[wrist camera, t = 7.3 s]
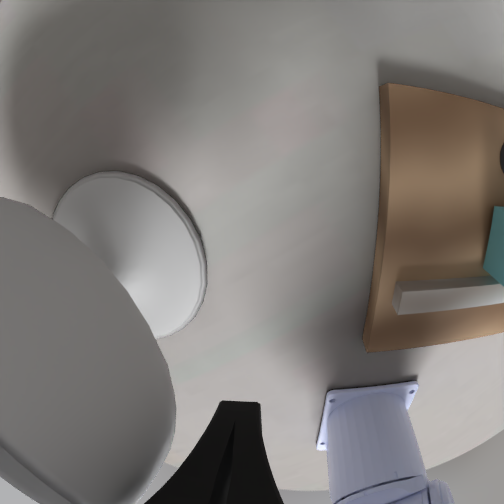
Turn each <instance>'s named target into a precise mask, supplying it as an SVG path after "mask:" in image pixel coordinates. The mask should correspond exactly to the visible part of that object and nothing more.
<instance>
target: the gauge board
mask: <svg viewBox="0 0 504 504" xmlns="http://www.w3.org/2000/svg"><path fill="white" fill-rule="evenodd" d="M379 95H380V119H381V174H380V198H379V214H378V228H377V239H376V249H375V258H374V267H373V275H372V282H371V289H370V296H369V303H368V309H367V315H366V321H365V326H364V332H363V337H362V340H363V343H364V346H365V349H366V352H367V353H369V352H380V351H390V350H400V349H408V348H416V347H424V346H431V345H438V344H444V343H450V342H456V341H462V340H468V339H473V338H478V337H483V336H488V335H493V334H497V333H502V332H504V287H503V286H502V285H501V284H500V283H499V282H498V281H497V280H496V279H495V278H493V277H492V276H491V275H490V274H489V273H488V272H487V271H485V270H484V269H483V264H484V260H485V256H486V251H487V246H488V241H489V236H490V231H491V225H492V219H493V212H494V206H499V207H504V109H503V108H500V107H497V106H494V105H491V104H487V103H484V102H481V101H477V100H473V99H470V98H466V97H462V96H458V95H454V94H449V93H445V92H440V91H435V90H430V89H425V88H420V87H414V86H408V85H401V84H394V83H386V84H384V85H381V86H379Z"/></svg>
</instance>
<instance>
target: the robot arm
mask: <svg viewBox="0 0 504 504" xmlns="http://www.w3.org/2000/svg"><path fill="white" fill-rule="evenodd" d="M418 387H419V385H418V382H417V381H411V382H405V383H398V384H390V385H383V386H374V387H364V388H353V389H341V390H331V391H329V392H328V393H327V396H326V401H325V406H324V412H323V417H322V422H321V427H320V431H319V436H318V441H317V445H316V449H317V450H327V462H328V476H329V493H330V498H331V500H332V502H333V504H455V503H454V500H453V497H452V494H451V492H450V489H449V486H448V484H447V483H446V482H444V481H440V480H439V479H435V480H433V481H431V482H430V481H429V480H428V478H427V475H426V471H425V467H424V463H423V460H422V456H421V453H420V449H419V446H418V443H417V439H416V436H415V433H414V430H413V427H412V424H411V421H410V417H409V414H408V409H409V406H410V404H411V402H412V400H413V398H414V396H415V393H416V391H417V389H418ZM144 504H284V503H283V501H282V498H281V496H280V494H279V491H278V489H277V486H276V483H275V481H274V478H273V475H272V472H271V469H270V465H269V462H268V459H267V455H266V451H265V447H264V442H263V437H262V424H261V407H260V404H259V403H258V402H240V401H221V402H220V403H219V405H218V408H217V410H216V412H215V414H214V416H213V418H212V420H211V421H210V423H209V425H208V427H207V428H206V430H205V432H204V434H203V435H202V437H201V438H200V440H199V441H198V443H197V444H196V446H195V447H194V449H193V450H192V452H191V453H190V454H189V456H188V457H187V458H186V460H185V461H184V462H183V464H182V465H181V466H180V468H179V469H178V470H177V471H176V472H175V474H174V475H173V476H172V477H171V478H170V479H169V480H168V481H167V483H165V485H164V486H163V487H162V488H161V489H160V490H159V491H157V492H156V493H155V494H154V495H153V496H152V497H151V498H150V499H149V500H148V501H147V502H145V503H144Z"/></svg>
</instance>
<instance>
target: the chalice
mask: <svg viewBox="0 0 504 504" xmlns="http://www.w3.org/2000/svg"><path fill="white" fill-rule="evenodd" d="M206 287H207V261H206V258H205V254H204V250H203V246H202V242H201V239H200V237H199V235H198V233H197V232H196V230H195V228H194V226H193V224H192V221H191V220H190V218H189V217H188V216H187V215H186V213H185V212H184V211H183V209H182V208H181V207H180V206H179V204H178V203H177V202H176V201H175V200H174V199H173V198H172V197H171V196H169V195H168V194H167V193H166V192H165V191H163V190H162V189H161V188H160V187H159V186H157V185H155V184H153V183H151V182H150V181H148V180H146V179H144V178H142V177H140V176H138V175H133V174H129V173H125V172H120V171H106V172H97V173H95V174H92V175H89V176H86V177H84V178H82V179H80V180H79V181H78V182H76V183H75V184H74V185H72V186H71V187H70V188H69V189H68V190H67V191H66V193H65V194H64V195H63V197H62V198H61V199H60V201H59V203H58V205H57V207H56V210H55V212H54V215H53V218H52V219H51V218H49V217H48V216H46V215H44V214H43V213H41V212H40V211H38V210H36V209H35V208H33V207H32V206H30V205H28V204H25V203H21V202H18V201H14V200H11V199H7V198H4V197H0V476H1V477H2V478H3V479H4V480H6V481H7V482H8V483H10V484H11V485H12V486H14V487H15V488H17V489H18V490H19V491H21V492H22V493H24V494H25V495H27V496H29V497H30V498H32V499H33V500H35V501H36V502H38V503H40V504H136V503H137V502H138V501H139V500H140V498H141V497H142V496H143V494H144V493H145V492H146V490H147V489H148V487H149V486H150V484H151V483H152V481H153V480H154V478H155V476H156V475H157V473H158V471H159V470H160V468H161V466H162V464H163V463H164V461H165V459H166V457H167V455H168V453H169V451H170V449H171V445H172V441H173V437H174V433H175V424H176V402H175V394H174V389H173V385H172V381H171V377H170V373H169V368H168V365H167V363H166V361H165V358H164V356H163V354H162V352H161V350H160V348H159V346H158V344H157V342H156V340H155V339H159V338H163V337H167V336H171V335H172V334H174V333H176V332H178V331H179V330H181V329H183V328H185V327H186V325H187V324H188V323H189V322H190V321H191V320H192V319H193V318H194V317H195V316H196V314H197V312H198V311H199V309H200V307H201V305H202V303H203V301H204V296H205V292H206Z"/></svg>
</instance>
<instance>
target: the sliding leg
mask: <svg viewBox="0 0 504 504" xmlns="http://www.w3.org/2000/svg"><path fill="white" fill-rule="evenodd" d="M483 269H484V270H485V271H487V272H488V273H489V274H490V275H491V276H492V277H493V278H495V279H496V280H497V281H498V282H499V283H500V284H501V285H502V286H503V287H504V207H499V206H494V212H493V219H492V225H491V231H490V236H489V241H488V246H487V251H486V256H485V260H484V264H483Z"/></svg>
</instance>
